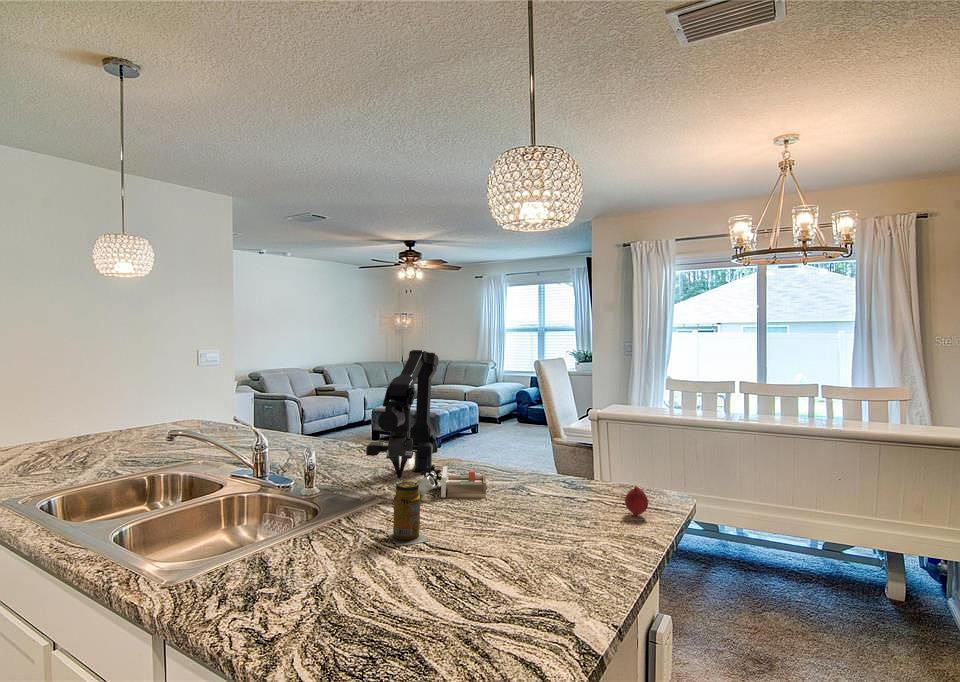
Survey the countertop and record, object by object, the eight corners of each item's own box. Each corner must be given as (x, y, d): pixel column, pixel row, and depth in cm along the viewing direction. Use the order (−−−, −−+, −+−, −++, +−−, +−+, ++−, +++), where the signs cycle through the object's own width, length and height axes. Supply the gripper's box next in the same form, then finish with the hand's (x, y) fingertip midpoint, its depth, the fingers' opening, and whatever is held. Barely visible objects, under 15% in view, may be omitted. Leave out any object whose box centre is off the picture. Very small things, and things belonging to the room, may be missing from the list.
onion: (651, 515, 134) (652, 485, 134) (641, 521, 130) (642, 490, 130) (630, 510, 138) (631, 480, 138) (620, 515, 134) (621, 485, 134)
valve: (416, 505, 143) (428, 489, 155) (435, 494, 142) (446, 479, 153) (404, 484, 143) (417, 470, 155) (423, 473, 142) (435, 460, 154)
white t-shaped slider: (443, 484, 157) (443, 465, 156) (481, 484, 157) (481, 465, 157) (441, 497, 145) (441, 476, 144) (482, 497, 145) (482, 477, 145)
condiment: (416, 528, 123) (416, 478, 123) (428, 541, 115) (429, 488, 115) (386, 533, 120) (387, 482, 119) (396, 547, 112) (397, 492, 112)
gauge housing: (448, 486, 156) (448, 473, 156) (484, 486, 156) (484, 473, 156) (447, 497, 146) (447, 483, 146) (485, 497, 146) (486, 483, 146)
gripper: (362, 430, 141) (361, 486, 142) (430, 431, 142) (429, 487, 142) (370, 422, 153) (369, 474, 153) (433, 423, 153) (432, 475, 153)
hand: (399, 478), depth 150 cm, fingers closed
